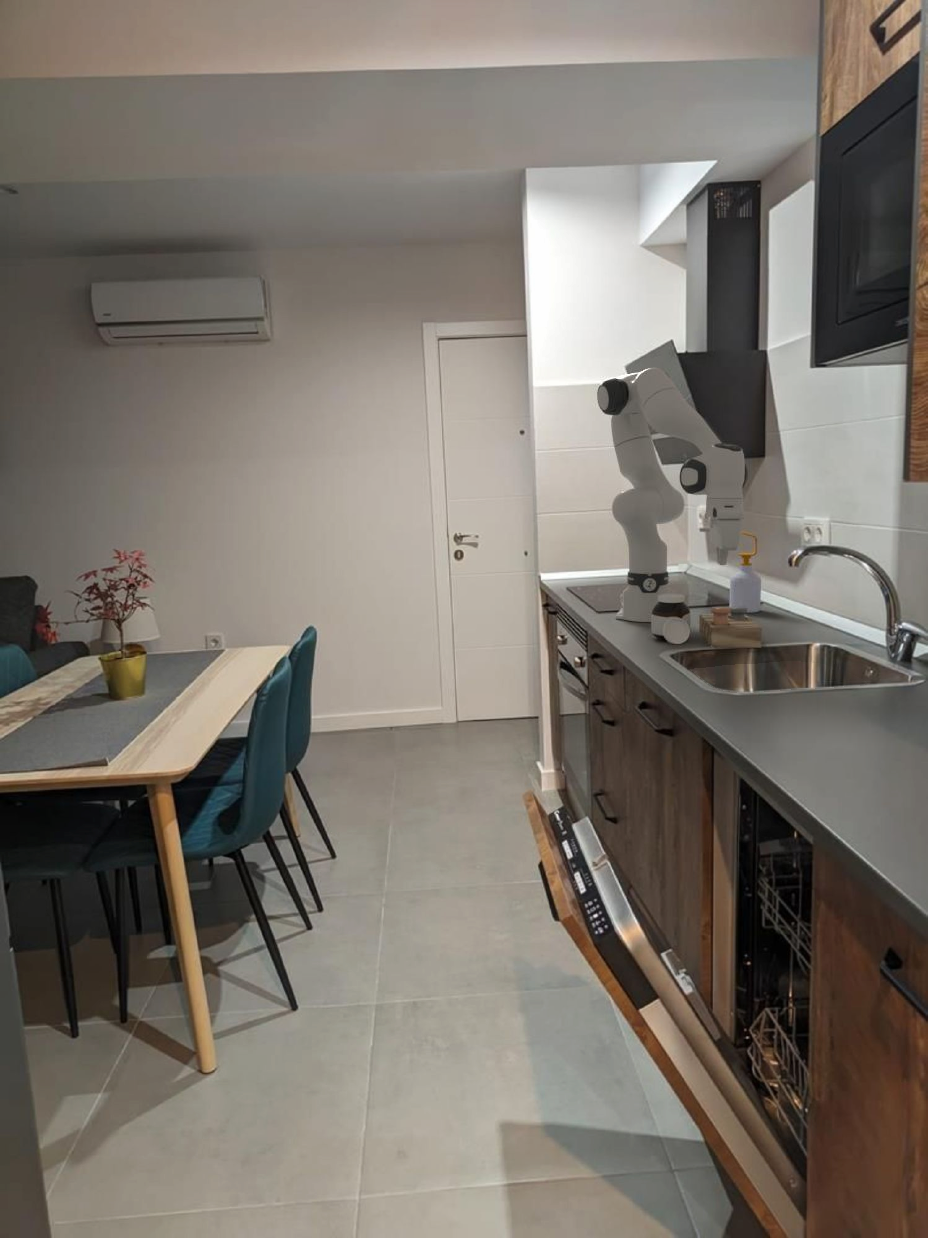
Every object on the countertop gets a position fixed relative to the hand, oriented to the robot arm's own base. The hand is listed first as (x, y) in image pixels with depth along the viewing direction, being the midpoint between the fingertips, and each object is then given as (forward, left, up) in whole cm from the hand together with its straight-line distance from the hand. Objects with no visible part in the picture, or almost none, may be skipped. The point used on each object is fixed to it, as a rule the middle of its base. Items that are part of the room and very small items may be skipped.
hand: (721, 564), depth 214 cm
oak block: (-4, +3, -20) cm, 21 cm away
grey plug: (-9, +6, -20) cm, 22 cm away
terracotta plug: (0, 0, -18) cm, 18 cm away
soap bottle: (-48, +16, -21) cm, 55 cm away
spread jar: (-3, -11, -21) cm, 24 cm away
